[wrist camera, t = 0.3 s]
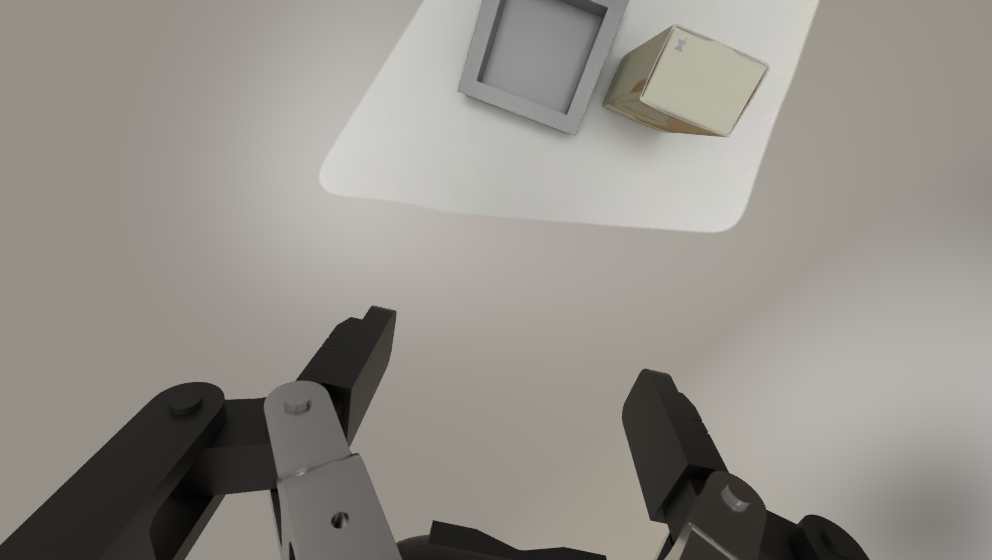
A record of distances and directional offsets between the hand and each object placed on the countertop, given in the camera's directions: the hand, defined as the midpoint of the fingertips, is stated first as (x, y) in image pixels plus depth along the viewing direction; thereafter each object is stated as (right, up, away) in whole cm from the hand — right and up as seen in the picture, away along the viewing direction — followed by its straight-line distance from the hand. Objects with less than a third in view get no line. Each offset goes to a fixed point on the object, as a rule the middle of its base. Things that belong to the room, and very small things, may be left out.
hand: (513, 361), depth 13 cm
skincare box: (+12, +18, +22) cm, 31 cm away
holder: (+3, +22, +21) cm, 30 cm away
